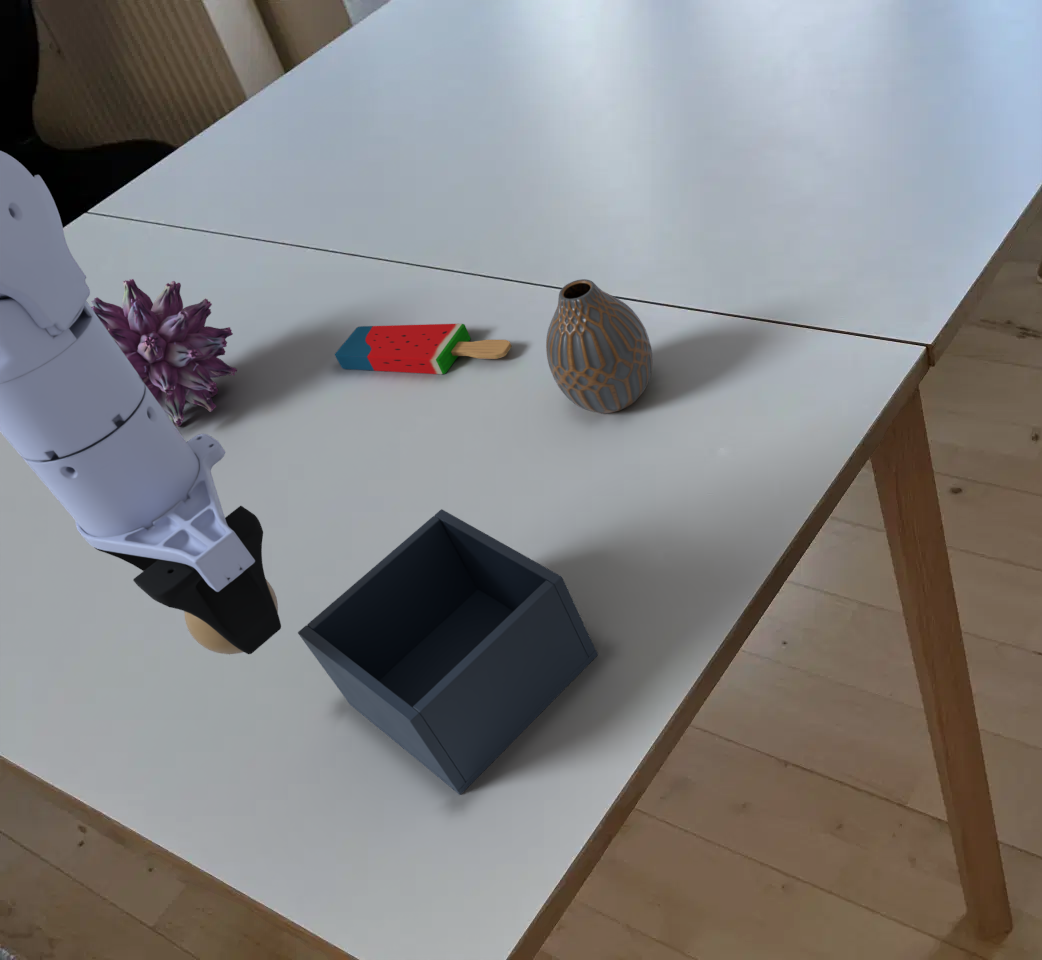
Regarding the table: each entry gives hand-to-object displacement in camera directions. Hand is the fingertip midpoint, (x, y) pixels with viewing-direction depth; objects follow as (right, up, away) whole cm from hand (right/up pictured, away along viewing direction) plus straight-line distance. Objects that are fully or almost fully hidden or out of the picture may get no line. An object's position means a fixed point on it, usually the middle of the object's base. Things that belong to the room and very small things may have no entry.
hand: (239, 620), depth 56 cm
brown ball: (0, -1, +1) cm, 1 cm away
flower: (-16, +13, +34) cm, 40 cm away
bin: (+11, -4, +5) cm, 13 cm away
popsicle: (+4, +17, +31) cm, 35 cm away
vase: (+18, +13, +20) cm, 30 cm away
